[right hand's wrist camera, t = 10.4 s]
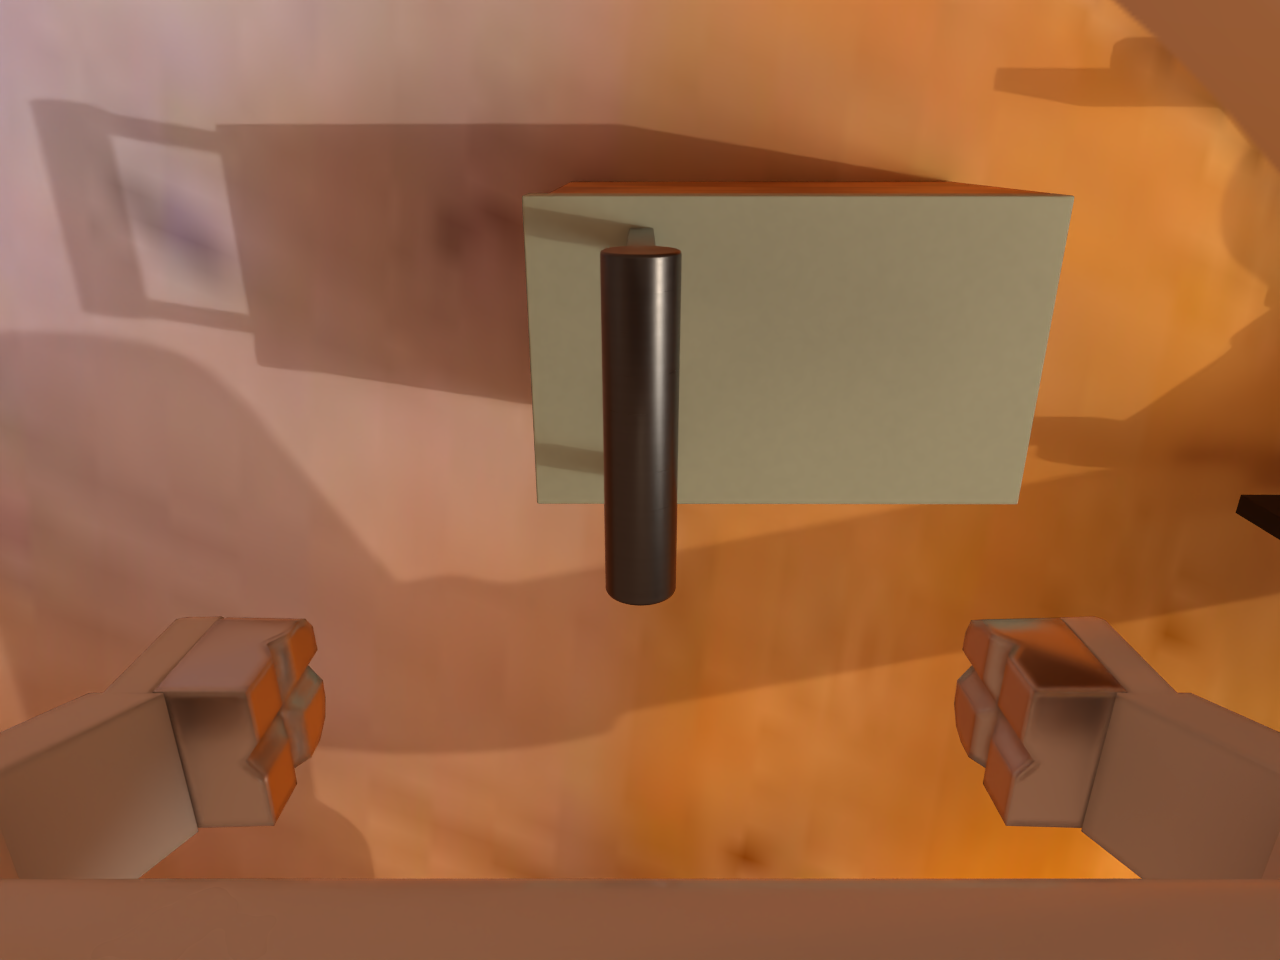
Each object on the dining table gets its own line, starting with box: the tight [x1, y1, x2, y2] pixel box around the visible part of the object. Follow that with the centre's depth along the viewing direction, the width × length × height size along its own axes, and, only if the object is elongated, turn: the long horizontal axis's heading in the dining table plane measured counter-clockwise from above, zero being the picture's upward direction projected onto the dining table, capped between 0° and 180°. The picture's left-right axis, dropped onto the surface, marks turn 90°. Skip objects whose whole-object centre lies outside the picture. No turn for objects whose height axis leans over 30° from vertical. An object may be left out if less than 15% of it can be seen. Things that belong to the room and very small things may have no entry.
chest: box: [550, 182, 1050, 194], centre depth 30 cm, size 15×9×9 cm, turn 90°
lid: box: [522, 193, 1074, 605], centre depth 22 cm, size 16×9×9 cm, turn 90°
